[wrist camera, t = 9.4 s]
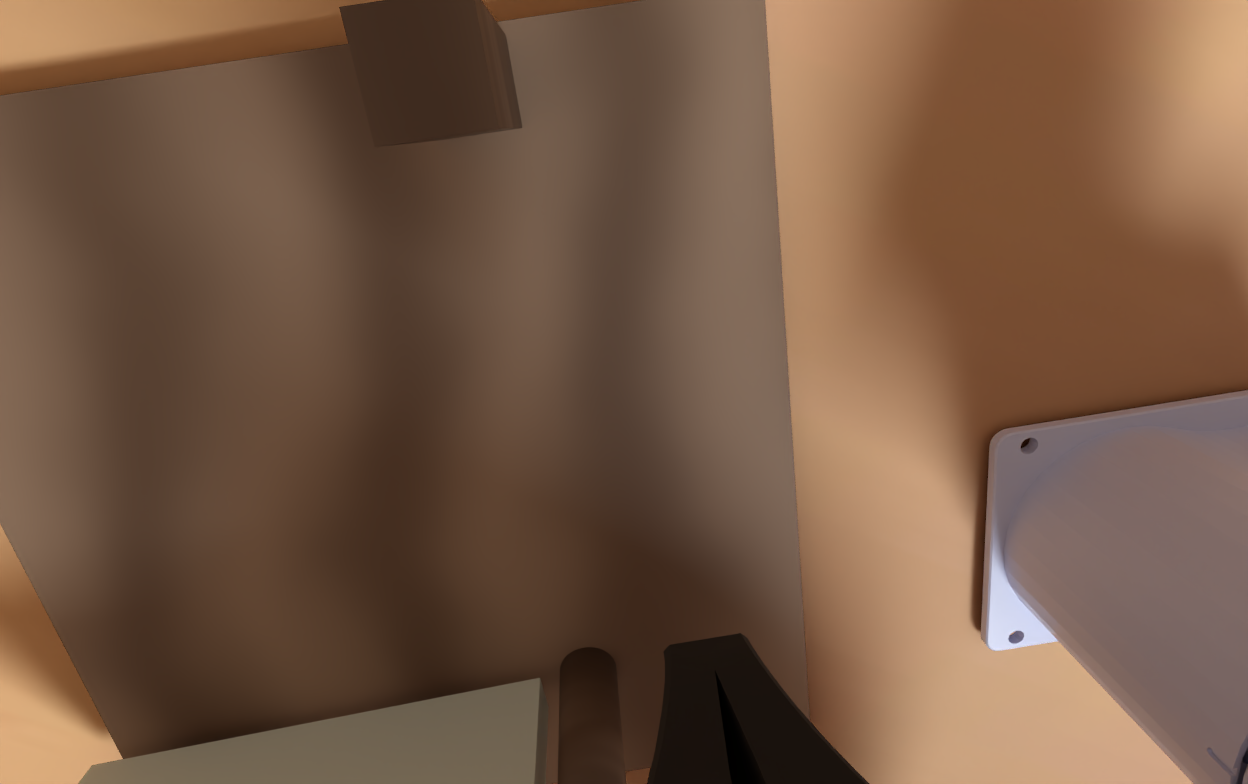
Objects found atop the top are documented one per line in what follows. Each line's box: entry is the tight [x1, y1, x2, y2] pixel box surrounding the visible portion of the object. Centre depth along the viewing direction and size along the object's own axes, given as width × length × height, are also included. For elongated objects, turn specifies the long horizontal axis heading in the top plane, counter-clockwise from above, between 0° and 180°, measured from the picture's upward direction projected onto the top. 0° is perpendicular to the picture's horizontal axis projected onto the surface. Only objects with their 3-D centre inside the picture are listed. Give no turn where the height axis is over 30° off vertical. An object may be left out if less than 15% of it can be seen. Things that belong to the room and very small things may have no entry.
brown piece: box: [0, 0, 810, 784], centre depth 18 cm, size 22×23×7 cm
